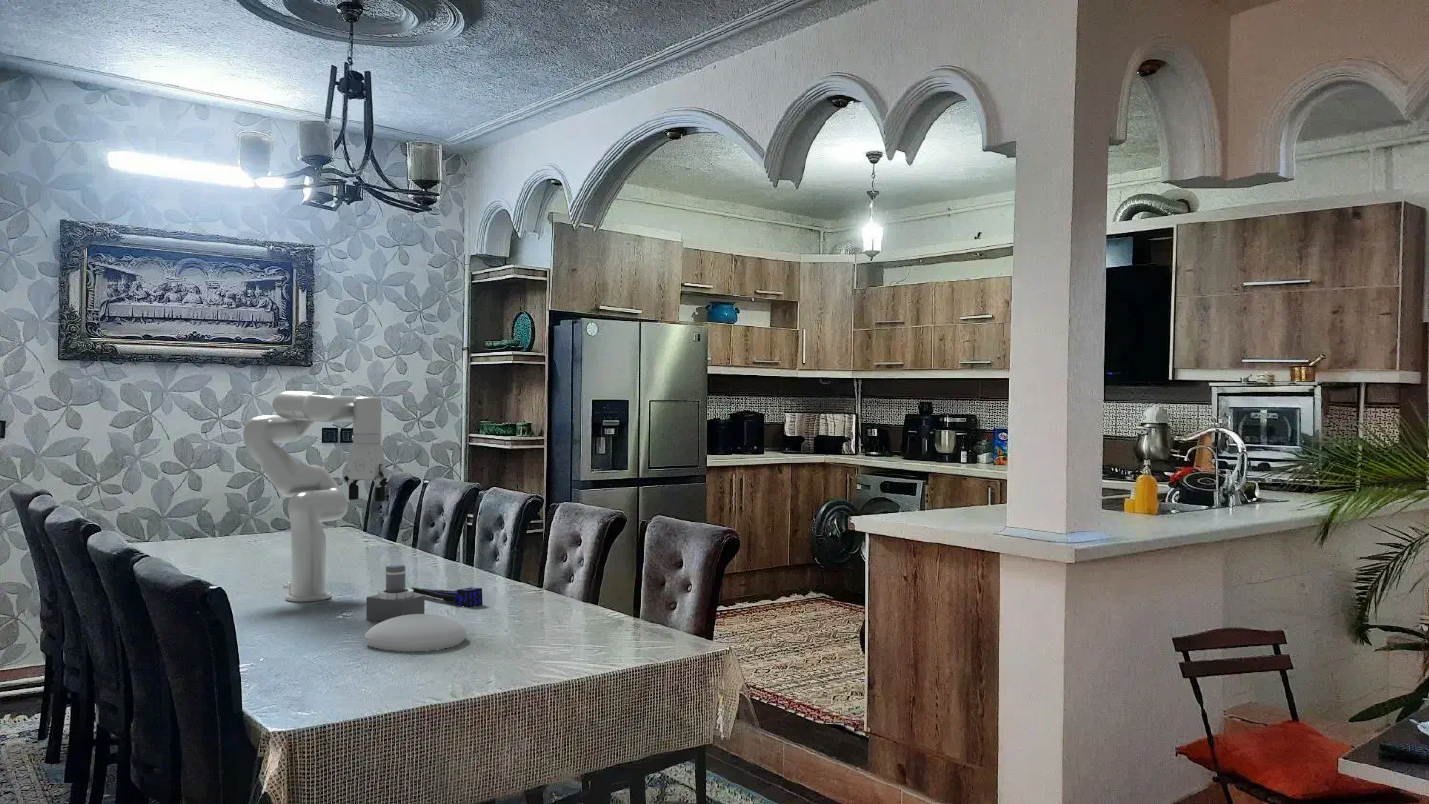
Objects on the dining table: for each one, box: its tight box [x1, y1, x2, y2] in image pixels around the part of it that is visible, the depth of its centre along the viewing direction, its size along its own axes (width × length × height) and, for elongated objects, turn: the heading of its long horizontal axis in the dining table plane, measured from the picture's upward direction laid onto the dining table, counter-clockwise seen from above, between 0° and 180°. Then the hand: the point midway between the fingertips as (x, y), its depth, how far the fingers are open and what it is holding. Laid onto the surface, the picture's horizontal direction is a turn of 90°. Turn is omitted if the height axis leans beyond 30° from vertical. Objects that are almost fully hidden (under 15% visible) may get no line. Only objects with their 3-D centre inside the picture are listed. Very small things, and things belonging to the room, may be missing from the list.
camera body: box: [365, 587, 426, 622], centre depth 273 cm, size 12×9×8 cm
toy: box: [410, 586, 484, 609], centre depth 300 cm, size 8×5×30 cm
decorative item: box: [364, 613, 467, 652], centre depth 247 cm, size 24×7×20 cm
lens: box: [385, 564, 406, 593], centre depth 273 cm, size 5×5×8 cm
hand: (366, 500), depth 288 cm, fingers open, 9 cm apart
